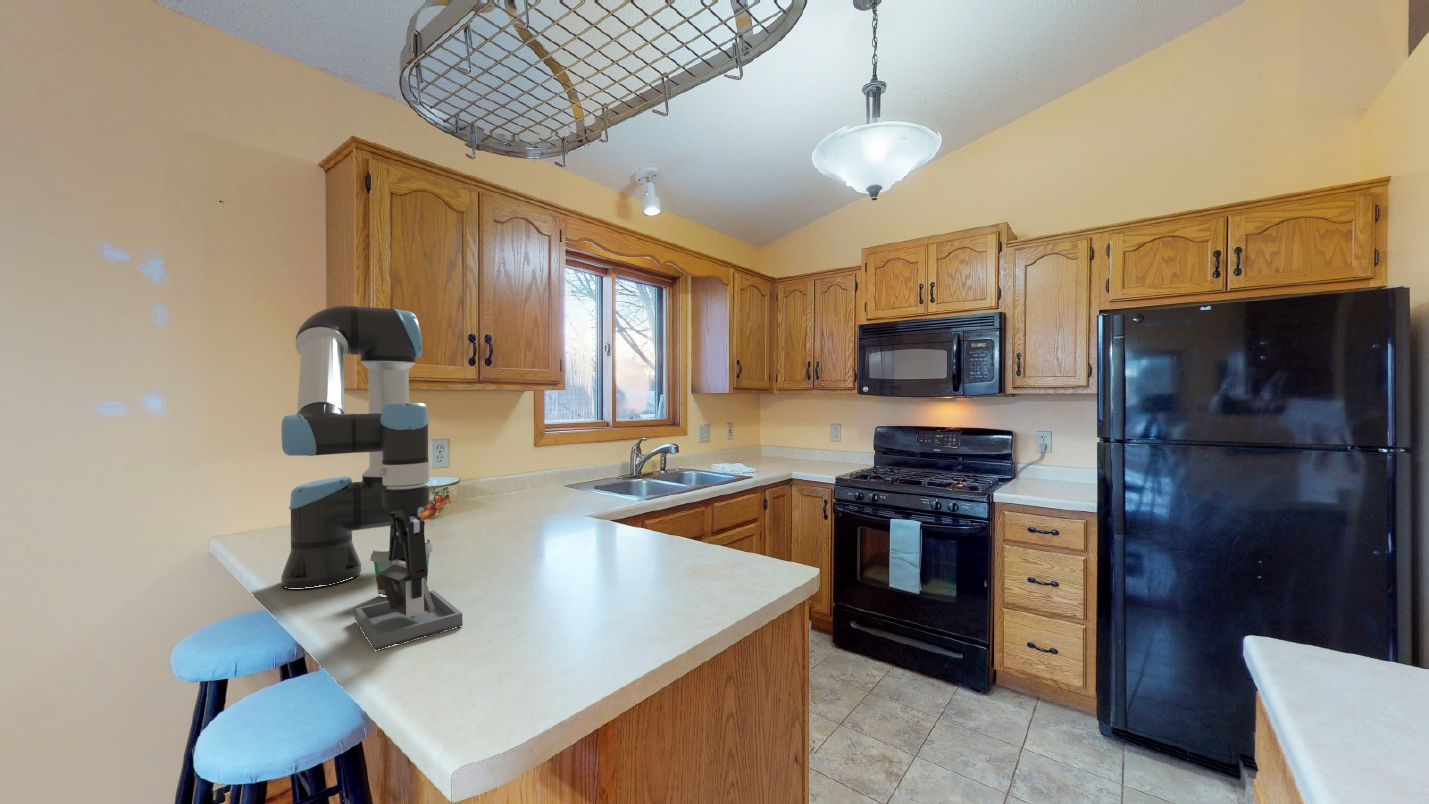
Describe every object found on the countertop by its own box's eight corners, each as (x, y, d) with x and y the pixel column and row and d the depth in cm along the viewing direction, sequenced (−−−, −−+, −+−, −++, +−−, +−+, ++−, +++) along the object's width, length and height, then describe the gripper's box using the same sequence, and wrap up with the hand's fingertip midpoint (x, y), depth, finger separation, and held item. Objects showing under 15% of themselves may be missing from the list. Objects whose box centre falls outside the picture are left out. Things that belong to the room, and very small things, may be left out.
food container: (382, 604, 108) (382, 555, 108) (370, 598, 112) (369, 550, 112) (443, 587, 118) (443, 542, 118) (430, 582, 122) (430, 538, 122)
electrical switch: (435, 612, 97) (430, 562, 97) (406, 624, 93) (400, 573, 92) (409, 602, 102) (404, 555, 102) (381, 614, 98) (375, 565, 97)
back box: (355, 621, 99) (355, 608, 99) (434, 602, 109) (434, 590, 109) (375, 651, 87) (374, 636, 87) (462, 626, 96) (462, 613, 96)
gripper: (369, 482, 103) (371, 597, 103) (397, 495, 87) (399, 631, 87) (412, 478, 109) (414, 587, 108) (446, 489, 93) (448, 618, 92)
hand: (407, 607), depth 98 cm, fingers closed on electrical switch, 9 cm apart
